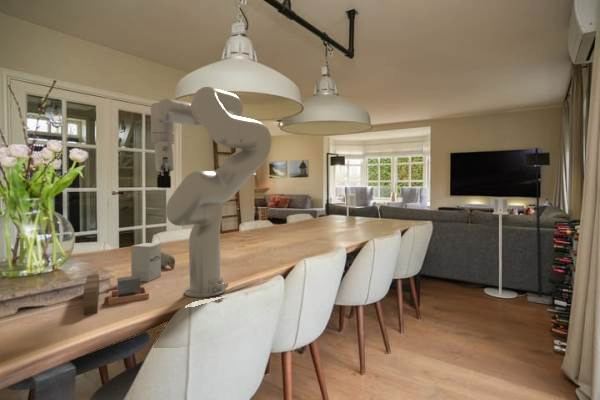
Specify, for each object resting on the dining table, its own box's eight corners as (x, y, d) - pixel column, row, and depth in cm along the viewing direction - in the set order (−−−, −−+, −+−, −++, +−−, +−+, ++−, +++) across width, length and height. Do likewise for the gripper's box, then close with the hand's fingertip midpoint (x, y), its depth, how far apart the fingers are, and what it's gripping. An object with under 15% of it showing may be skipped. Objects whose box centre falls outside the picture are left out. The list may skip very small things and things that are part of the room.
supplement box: (149, 281, 120) (148, 246, 119) (130, 280, 121) (130, 245, 120) (161, 276, 127) (161, 242, 126) (144, 275, 128) (143, 242, 128)
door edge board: (97, 312, 91) (96, 290, 90) (84, 315, 89) (83, 292, 89) (99, 292, 108) (98, 273, 108) (88, 293, 107) (87, 274, 106)
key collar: (146, 290, 110) (146, 286, 110) (149, 298, 102) (149, 293, 102) (108, 295, 104) (108, 291, 104) (108, 304, 97) (108, 299, 97)
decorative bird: (168, 270, 135) (168, 252, 135) (142, 266, 143) (141, 248, 143) (179, 267, 140) (178, 250, 140) (152, 263, 148) (152, 246, 147)
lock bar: (139, 294, 106) (138, 275, 106) (140, 297, 103) (140, 278, 103) (117, 297, 103) (117, 277, 103) (118, 301, 100) (117, 281, 100)
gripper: (178, 137, 113) (179, 187, 114) (170, 142, 128) (171, 187, 129) (154, 135, 110) (155, 188, 111) (148, 141, 125) (149, 187, 126)
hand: (163, 187), depth 120 cm, fingers open, 9 cm apart
